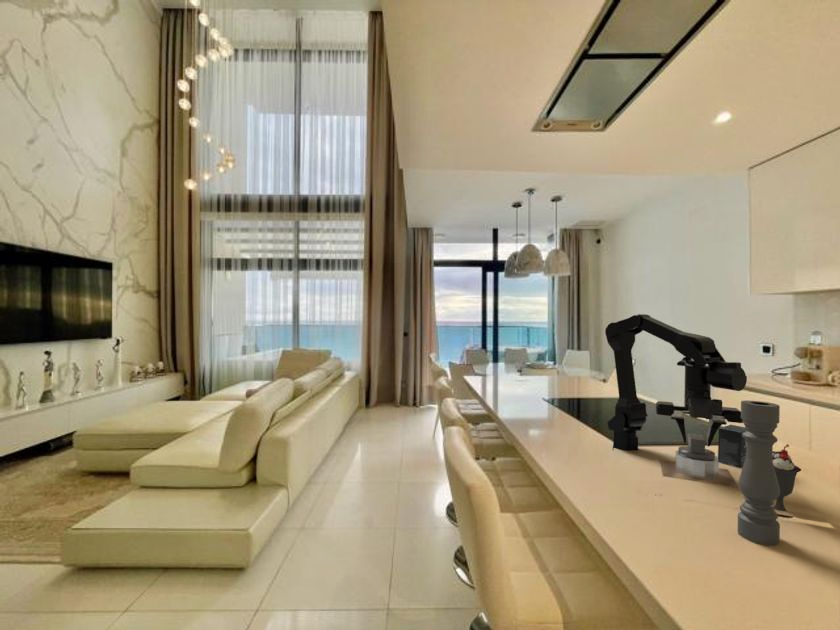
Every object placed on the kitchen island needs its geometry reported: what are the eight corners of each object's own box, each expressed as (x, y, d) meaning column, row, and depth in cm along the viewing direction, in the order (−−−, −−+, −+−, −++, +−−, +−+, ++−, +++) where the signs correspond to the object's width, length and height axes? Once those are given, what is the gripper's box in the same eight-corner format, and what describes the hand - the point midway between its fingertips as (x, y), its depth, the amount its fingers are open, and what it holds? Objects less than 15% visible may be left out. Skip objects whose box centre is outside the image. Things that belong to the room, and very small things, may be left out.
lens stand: (662, 479, 109) (662, 475, 109) (659, 462, 122) (659, 459, 122) (740, 491, 102) (740, 487, 102) (727, 472, 115) (727, 469, 115)
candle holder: (729, 529, 83) (731, 400, 84) (759, 528, 84) (760, 400, 84) (756, 546, 77) (758, 407, 77) (788, 545, 78) (790, 407, 78)
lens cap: (679, 469, 110) (680, 438, 110) (676, 459, 117) (677, 431, 117) (717, 474, 107) (717, 443, 107) (711, 464, 114) (712, 435, 114)
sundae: (791, 522, 87) (792, 448, 87) (753, 509, 93) (754, 439, 93) (807, 516, 90) (808, 444, 90) (769, 503, 96) (770, 436, 96)
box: (740, 471, 116) (741, 432, 116) (717, 464, 121) (717, 427, 121) (752, 466, 121) (753, 428, 121) (729, 460, 125) (729, 423, 125)
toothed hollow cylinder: (677, 475, 110) (677, 457, 110) (674, 464, 118) (674, 448, 118) (720, 481, 106) (721, 463, 106) (714, 470, 114) (714, 453, 114)
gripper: (658, 385, 109) (657, 447, 109) (749, 392, 101) (748, 459, 101) (656, 380, 119) (655, 436, 119) (738, 386, 111) (737, 446, 111)
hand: (696, 444), depth 112 cm, fingers open, 5 cm apart
